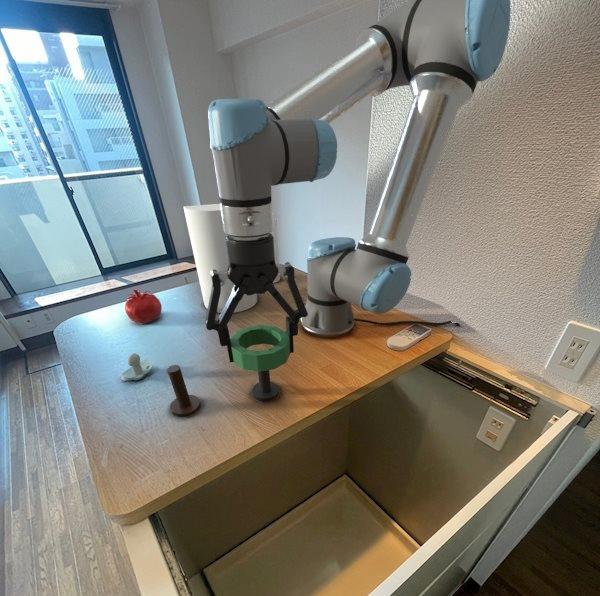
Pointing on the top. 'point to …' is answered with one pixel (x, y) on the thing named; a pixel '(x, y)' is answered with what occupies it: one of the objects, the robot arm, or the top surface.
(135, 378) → the pacifier
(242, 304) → the cylinder
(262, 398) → the charcoal peg
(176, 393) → the walnut peg
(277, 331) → the ring
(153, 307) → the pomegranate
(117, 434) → the top surface
